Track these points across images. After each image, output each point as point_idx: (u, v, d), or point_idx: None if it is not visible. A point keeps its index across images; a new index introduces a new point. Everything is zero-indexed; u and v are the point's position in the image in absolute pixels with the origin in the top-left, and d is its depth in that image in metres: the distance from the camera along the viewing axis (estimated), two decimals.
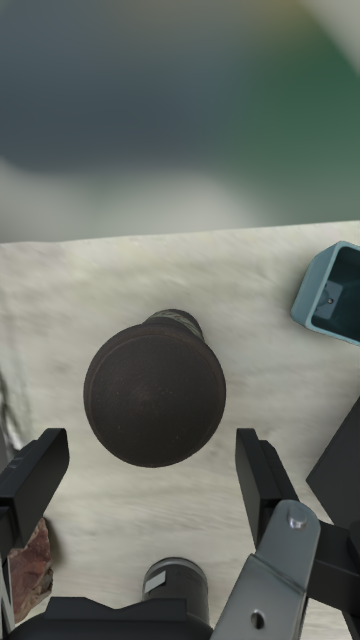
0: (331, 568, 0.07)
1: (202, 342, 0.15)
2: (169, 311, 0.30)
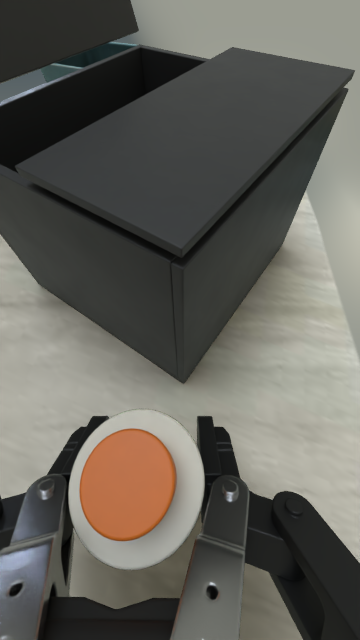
0: (254, 532, 0.08)
1: None
2: None
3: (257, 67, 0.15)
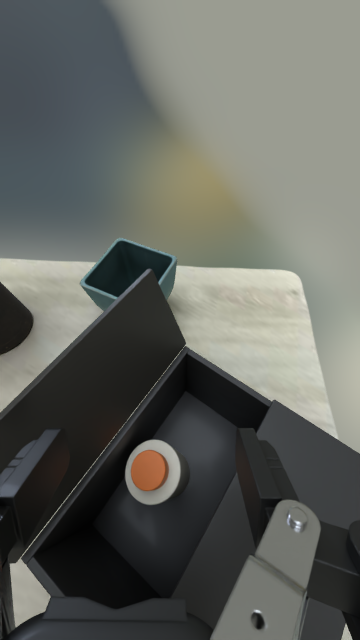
0: (331, 568, 0.07)
1: None
2: None
3: (301, 458, 0.17)
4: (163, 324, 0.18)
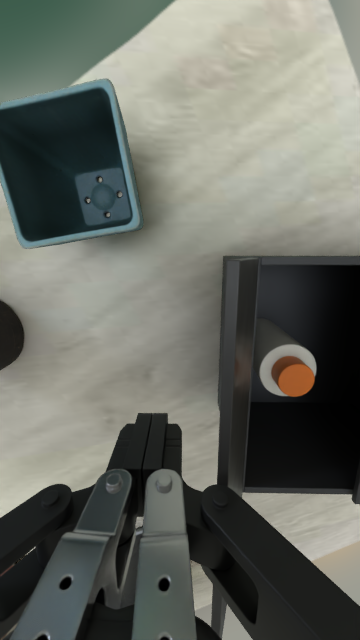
0: None
1: None
2: None
3: None
4: (251, 285, 0.11)
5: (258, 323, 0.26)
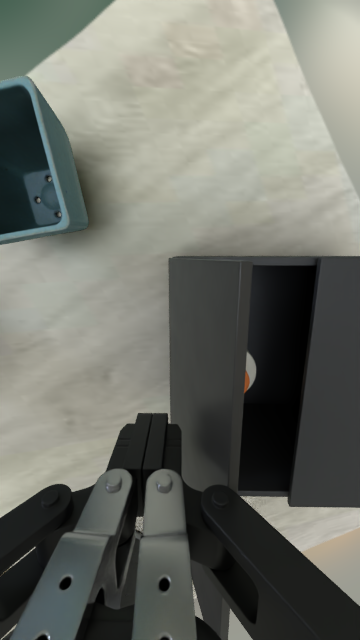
0: None
1: None
2: None
3: None
4: None
5: None
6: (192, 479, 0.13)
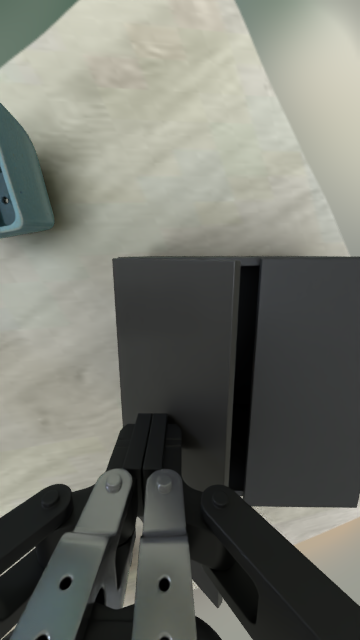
0: None
1: None
2: None
3: (313, 304, 0.14)
4: None
5: None
6: None
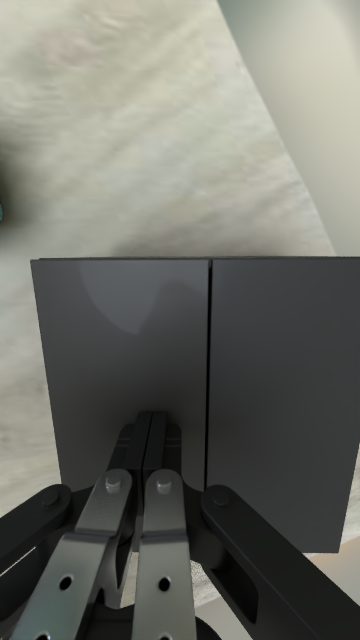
0: None
1: None
2: None
3: (278, 315, 0.12)
4: None
5: None
6: None
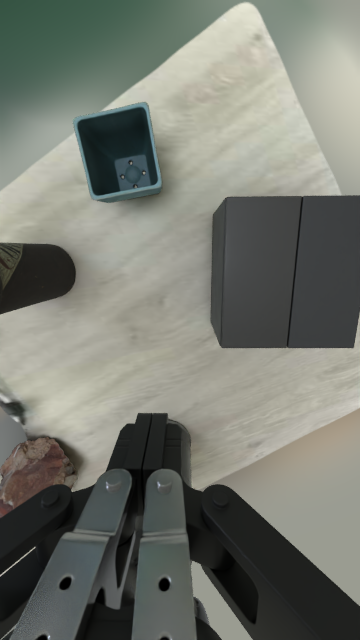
0: None
1: None
2: None
3: (330, 221, 0.28)
4: None
5: None
6: (261, 295, 0.30)
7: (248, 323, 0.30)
